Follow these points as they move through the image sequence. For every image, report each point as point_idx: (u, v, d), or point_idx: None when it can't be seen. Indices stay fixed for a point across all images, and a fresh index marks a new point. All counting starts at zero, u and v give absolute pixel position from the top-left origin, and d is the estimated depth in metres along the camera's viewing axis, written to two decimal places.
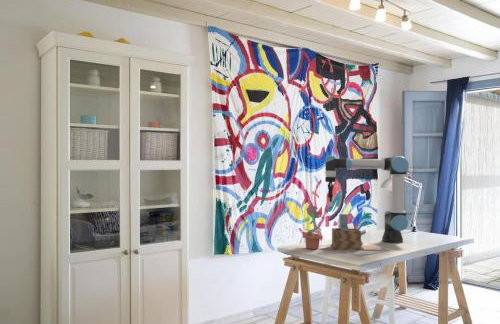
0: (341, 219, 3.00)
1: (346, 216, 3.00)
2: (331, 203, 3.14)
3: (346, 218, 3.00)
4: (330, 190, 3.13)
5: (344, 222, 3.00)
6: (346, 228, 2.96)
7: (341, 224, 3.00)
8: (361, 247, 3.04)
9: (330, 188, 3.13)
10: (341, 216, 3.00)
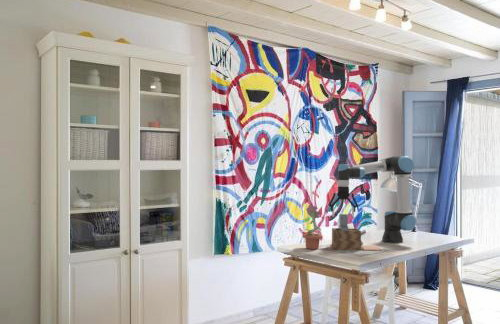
0: (341, 219, 3.00)
1: (346, 216, 3.00)
2: (332, 213, 3.02)
3: (346, 218, 3.00)
4: (331, 199, 3.03)
5: (344, 222, 3.00)
6: (346, 228, 2.96)
7: (341, 224, 3.00)
8: (361, 247, 3.04)
9: (332, 197, 3.03)
10: (341, 216, 3.00)
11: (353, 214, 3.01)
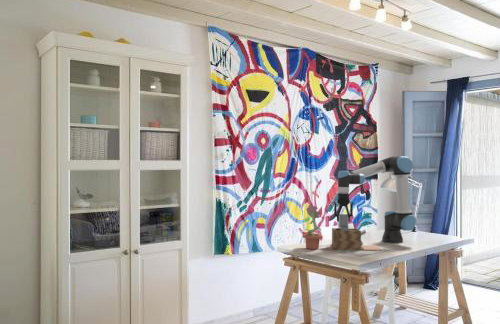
0: (341, 219, 3.00)
1: (346, 216, 3.00)
2: (338, 223, 3.02)
3: (346, 218, 3.00)
4: (334, 209, 3.03)
5: (344, 222, 3.00)
6: (346, 228, 2.96)
7: (341, 224, 3.00)
8: (361, 247, 3.04)
9: (334, 207, 3.03)
10: (341, 216, 3.00)
11: None
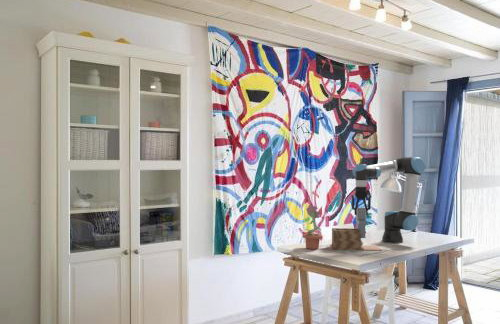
0: (359, 212, 3.00)
1: (364, 209, 2.99)
2: (356, 217, 3.02)
3: (364, 211, 2.99)
4: (352, 203, 3.03)
5: (362, 216, 2.99)
6: (364, 221, 2.95)
7: (359, 217, 3.00)
8: (361, 247, 3.04)
9: (352, 200, 3.03)
10: (359, 209, 3.00)
11: (365, 217, 3.00)
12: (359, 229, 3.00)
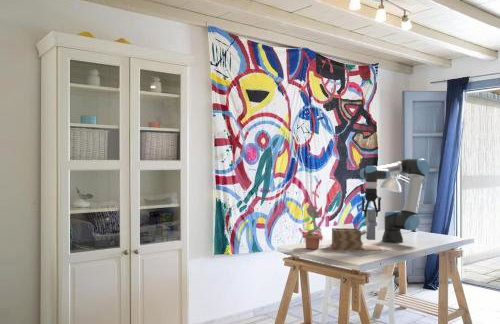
0: (369, 214, 2.99)
1: (374, 211, 2.99)
2: (366, 218, 3.01)
3: (374, 213, 2.99)
4: (362, 204, 3.02)
5: (372, 217, 2.99)
6: (374, 223, 2.95)
7: (369, 219, 2.99)
8: (361, 247, 3.04)
9: (362, 202, 3.02)
10: (369, 211, 2.99)
11: (375, 219, 3.00)
12: (369, 231, 2.99)
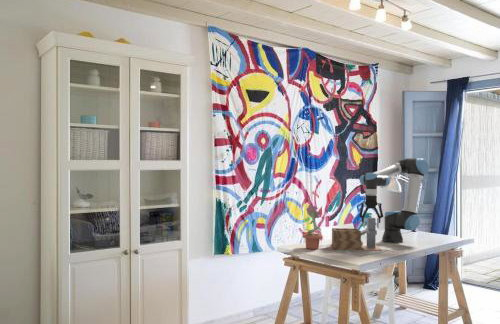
0: (369, 223, 2.99)
1: (374, 220, 2.99)
2: (363, 224, 3.01)
3: (374, 222, 2.99)
4: (360, 210, 3.02)
5: (372, 226, 2.99)
6: (374, 232, 2.95)
7: (369, 228, 2.99)
8: (361, 247, 3.04)
9: None
10: (369, 220, 2.99)
11: (378, 225, 3.00)
12: (369, 239, 2.99)
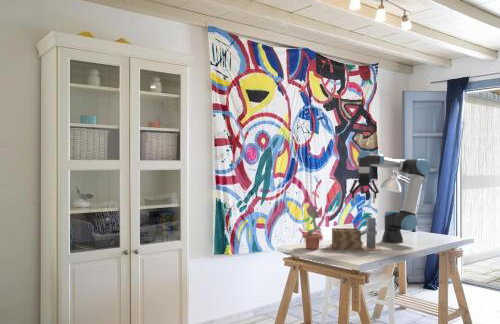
0: (369, 223, 2.99)
1: (374, 220, 2.99)
2: (354, 200, 3.06)
3: (374, 222, 2.99)
4: (352, 186, 3.07)
5: (372, 226, 2.99)
6: (374, 232, 2.95)
7: (369, 228, 2.99)
8: (361, 247, 3.04)
9: (353, 184, 3.07)
10: (369, 220, 2.99)
11: (374, 200, 3.05)
12: (369, 239, 2.99)
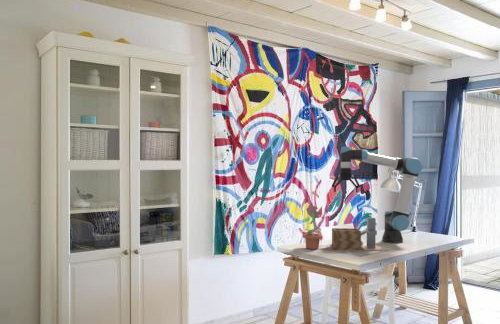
0: (369, 223, 2.99)
1: (374, 220, 2.99)
2: None
3: (374, 222, 2.99)
4: (334, 180, 3.19)
5: (372, 226, 2.99)
6: (374, 232, 2.95)
7: (369, 228, 2.99)
8: (361, 247, 3.04)
9: (335, 179, 3.19)
10: (369, 220, 2.99)
11: (355, 194, 3.17)
12: (369, 239, 2.99)
